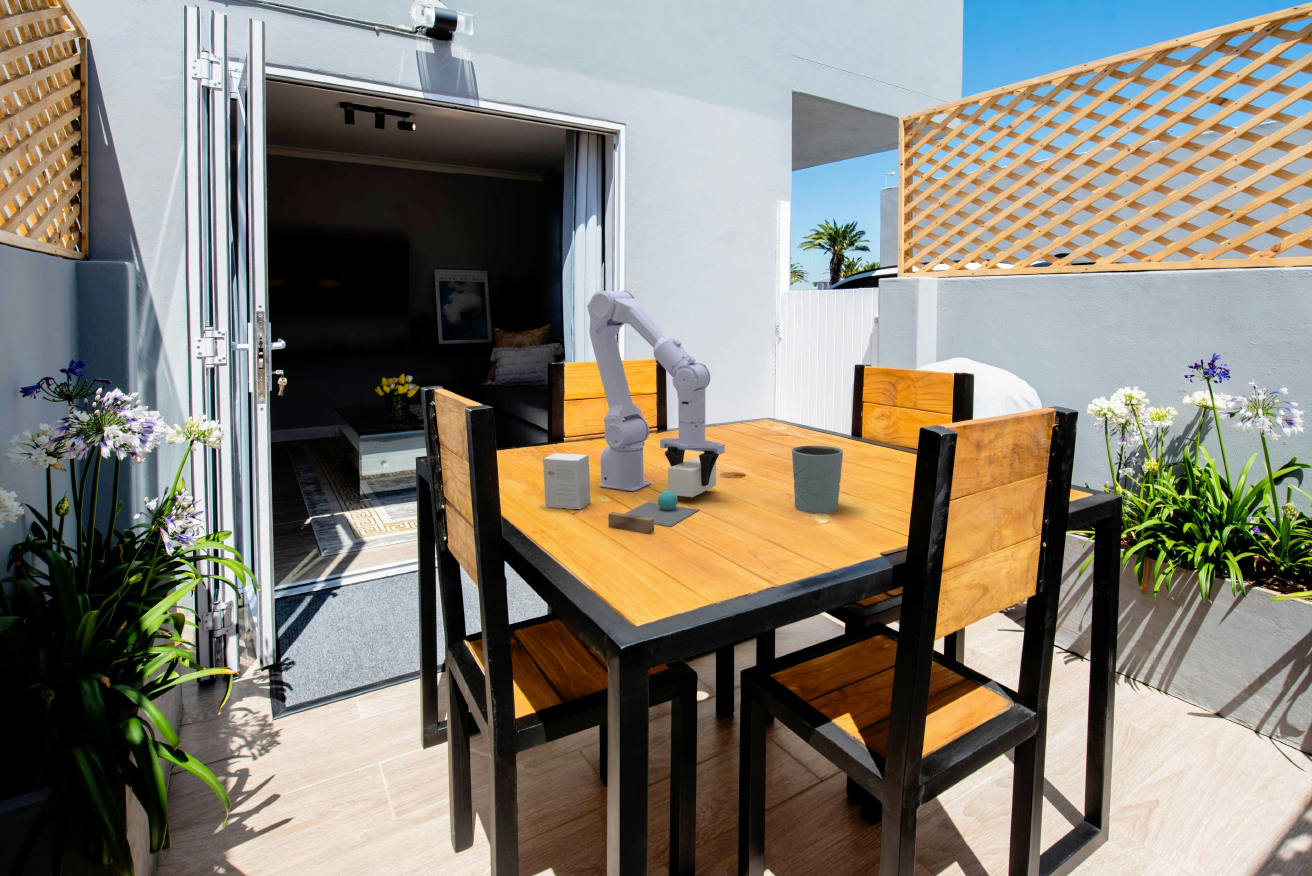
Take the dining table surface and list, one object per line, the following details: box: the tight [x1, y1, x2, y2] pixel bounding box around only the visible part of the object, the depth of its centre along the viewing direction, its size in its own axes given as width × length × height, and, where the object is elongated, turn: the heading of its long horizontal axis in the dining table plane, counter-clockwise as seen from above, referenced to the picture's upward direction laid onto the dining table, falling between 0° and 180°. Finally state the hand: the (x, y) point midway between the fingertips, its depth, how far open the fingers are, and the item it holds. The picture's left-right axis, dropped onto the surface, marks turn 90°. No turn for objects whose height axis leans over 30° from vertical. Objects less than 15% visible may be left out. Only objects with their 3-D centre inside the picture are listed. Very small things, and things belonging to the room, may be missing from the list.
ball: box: [657, 490, 678, 510], centre depth 143 cm, size 4×4×4 cm
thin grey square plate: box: [624, 501, 700, 528], centre depth 141 cm, size 12×12×1 cm
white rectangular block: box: [667, 457, 717, 498], centre depth 153 cm, size 6×12×6 cm, turn 151°
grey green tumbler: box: [791, 445, 844, 514], centre depth 144 cm, size 10×10×12 cm
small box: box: [542, 452, 592, 511], centre depth 147 cm, size 8×6×10 cm
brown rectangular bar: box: [607, 511, 655, 535], centre depth 132 cm, size 9×2×2 cm, turn 61°
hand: (692, 483), depth 153 cm, fingers closed on white rectangular block, 6 cm apart
